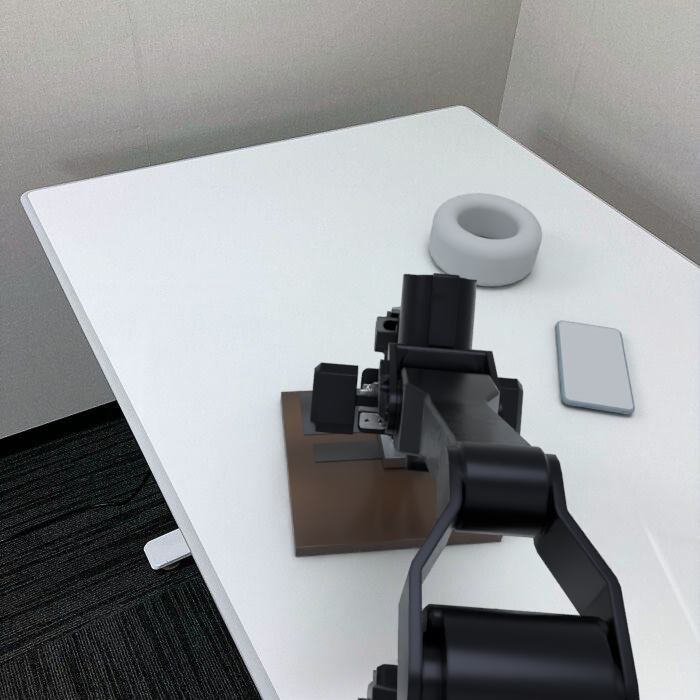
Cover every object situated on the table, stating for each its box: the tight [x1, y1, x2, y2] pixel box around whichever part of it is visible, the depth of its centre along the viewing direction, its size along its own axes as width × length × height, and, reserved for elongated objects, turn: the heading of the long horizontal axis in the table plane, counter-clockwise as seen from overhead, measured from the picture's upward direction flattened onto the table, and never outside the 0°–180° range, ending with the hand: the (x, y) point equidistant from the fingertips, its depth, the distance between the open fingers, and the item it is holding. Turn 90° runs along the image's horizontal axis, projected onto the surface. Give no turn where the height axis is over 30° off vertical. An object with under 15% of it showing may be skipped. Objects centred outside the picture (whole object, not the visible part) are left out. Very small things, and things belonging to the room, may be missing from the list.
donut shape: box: [428, 192, 543, 287], centre depth 107 cm, size 15×15×7 cm
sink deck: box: [280, 387, 504, 558], centre depth 80 cm, size 20×20×2 cm
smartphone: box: [555, 320, 636, 415], centre depth 94 cm, size 8×1×15 cm
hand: (406, 402), depth 78 cm, fingers closed on tap, 3 cm apart
